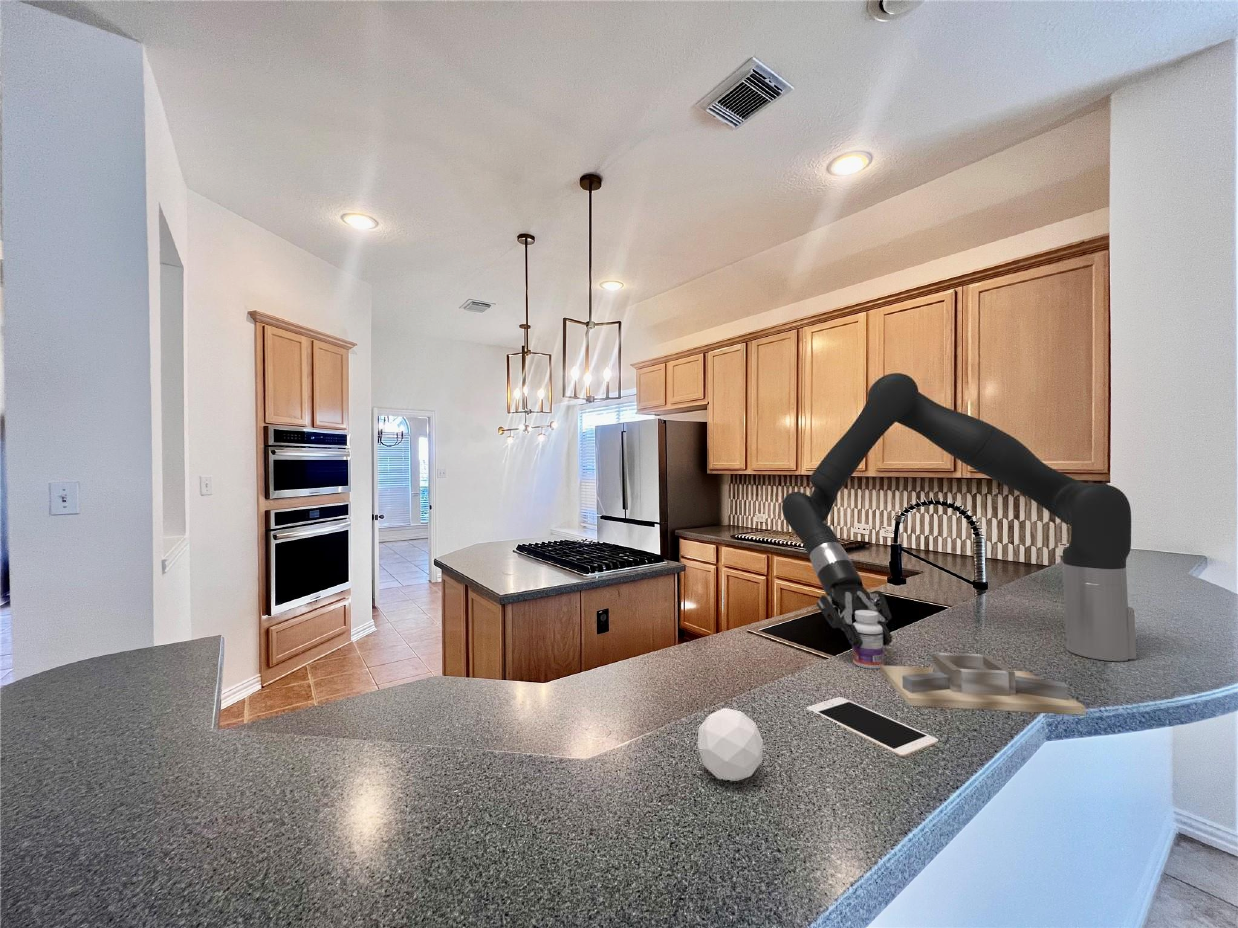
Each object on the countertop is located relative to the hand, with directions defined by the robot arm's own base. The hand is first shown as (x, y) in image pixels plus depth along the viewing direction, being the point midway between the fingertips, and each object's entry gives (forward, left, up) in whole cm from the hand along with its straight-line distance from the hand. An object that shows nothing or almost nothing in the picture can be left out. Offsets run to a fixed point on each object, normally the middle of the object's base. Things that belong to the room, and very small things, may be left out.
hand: (873, 644), depth 97 cm
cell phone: (+8, +23, -5) cm, 25 cm away
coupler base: (-12, +9, -4) cm, 16 cm away
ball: (+28, +39, -5) cm, 48 cm away
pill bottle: (+1, -2, -4) cm, 5 cm away
